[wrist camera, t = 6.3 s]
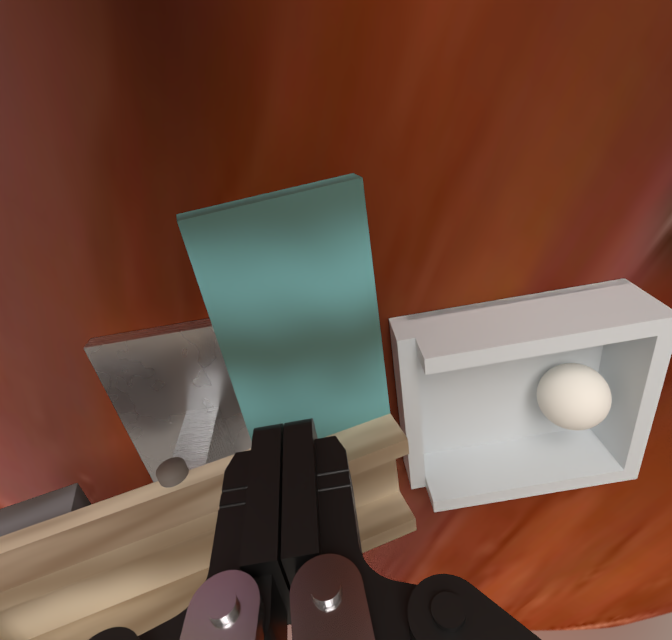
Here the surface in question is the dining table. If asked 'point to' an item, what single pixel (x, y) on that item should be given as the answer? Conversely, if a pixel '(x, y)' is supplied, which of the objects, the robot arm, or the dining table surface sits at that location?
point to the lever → (257, 409)
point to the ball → (574, 396)
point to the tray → (526, 391)
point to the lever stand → (172, 393)
